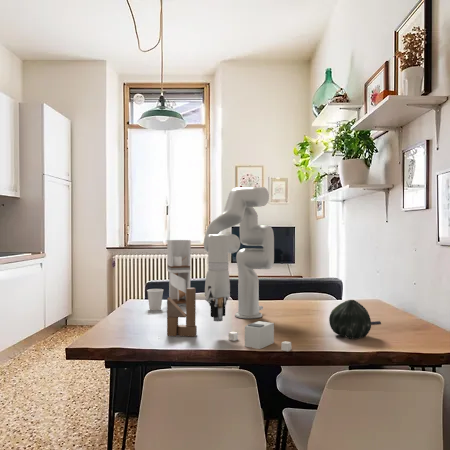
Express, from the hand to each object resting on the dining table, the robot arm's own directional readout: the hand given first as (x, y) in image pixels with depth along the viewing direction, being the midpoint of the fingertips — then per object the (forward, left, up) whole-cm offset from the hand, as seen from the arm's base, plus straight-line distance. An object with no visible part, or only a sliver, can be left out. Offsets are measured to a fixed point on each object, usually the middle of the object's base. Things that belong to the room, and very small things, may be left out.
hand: (218, 315), depth 157 cm
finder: (-1, +18, -8) cm, 20 cm away
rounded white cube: (0, +7, -8) cm, 10 cm away
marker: (0, +29, -8) cm, 30 cm away
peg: (0, 0, -2) cm, 2 cm away
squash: (-31, +39, -8) cm, 51 cm away
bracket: (-59, +31, -9) cm, 67 cm away
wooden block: (+7, -12, -8) cm, 16 cm away
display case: (-43, -62, -8) cm, 76 cm away
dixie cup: (-24, -60, -8) cm, 65 cm away
